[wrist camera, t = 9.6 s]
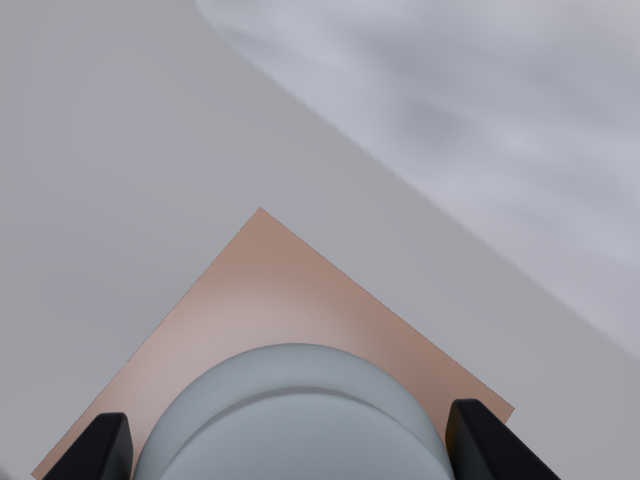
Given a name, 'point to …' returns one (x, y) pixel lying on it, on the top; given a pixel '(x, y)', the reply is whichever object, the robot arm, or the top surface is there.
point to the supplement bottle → (294, 422)
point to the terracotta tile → (274, 334)
